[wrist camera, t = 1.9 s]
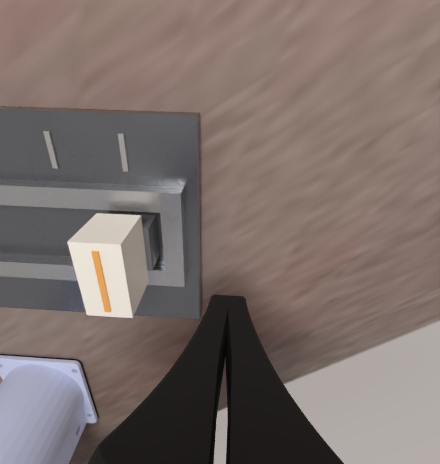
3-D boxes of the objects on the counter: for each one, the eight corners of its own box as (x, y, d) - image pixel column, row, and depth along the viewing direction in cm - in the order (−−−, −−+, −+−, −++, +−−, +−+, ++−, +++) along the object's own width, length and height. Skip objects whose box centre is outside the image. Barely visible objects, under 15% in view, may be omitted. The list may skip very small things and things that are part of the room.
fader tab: (160, 264, 19) (137, 319, 15) (116, 261, 19) (80, 316, 15) (155, 202, 17) (126, 246, 13) (105, 200, 17) (59, 242, 13)
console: (201, 307, 22) (197, 329, 20) (-72, 291, 23) (-100, 310, 21) (199, 113, 16) (194, 118, 14) (-185, 100, 16) (-242, 103, 14)
